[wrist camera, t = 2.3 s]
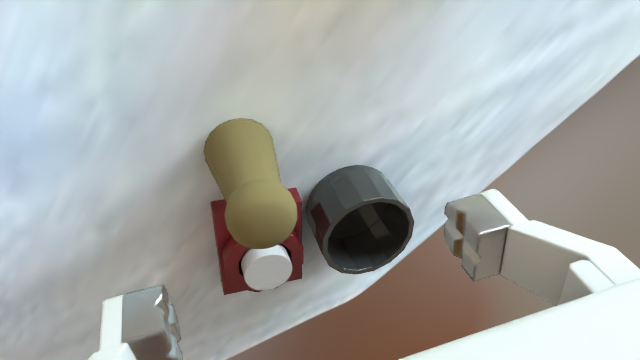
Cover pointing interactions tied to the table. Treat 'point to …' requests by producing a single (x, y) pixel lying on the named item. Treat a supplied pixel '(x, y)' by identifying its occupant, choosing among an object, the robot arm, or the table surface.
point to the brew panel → (234, 251)
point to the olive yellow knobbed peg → (250, 184)
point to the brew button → (266, 267)
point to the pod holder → (358, 219)
